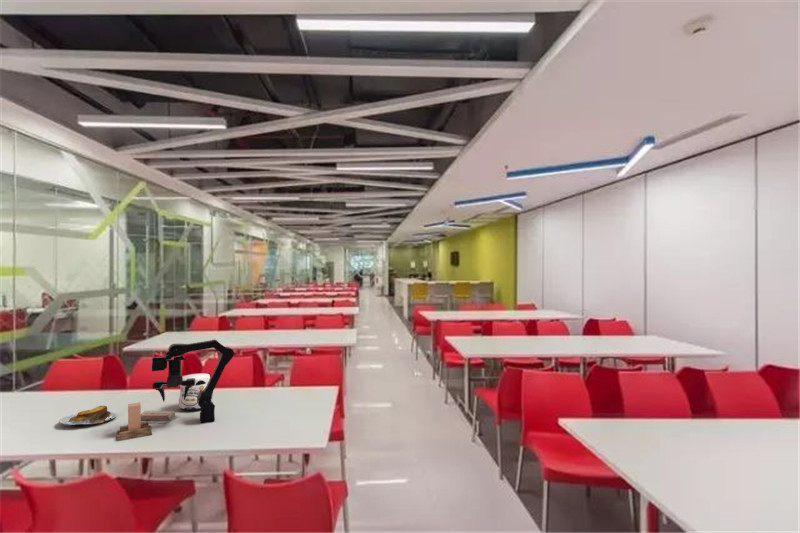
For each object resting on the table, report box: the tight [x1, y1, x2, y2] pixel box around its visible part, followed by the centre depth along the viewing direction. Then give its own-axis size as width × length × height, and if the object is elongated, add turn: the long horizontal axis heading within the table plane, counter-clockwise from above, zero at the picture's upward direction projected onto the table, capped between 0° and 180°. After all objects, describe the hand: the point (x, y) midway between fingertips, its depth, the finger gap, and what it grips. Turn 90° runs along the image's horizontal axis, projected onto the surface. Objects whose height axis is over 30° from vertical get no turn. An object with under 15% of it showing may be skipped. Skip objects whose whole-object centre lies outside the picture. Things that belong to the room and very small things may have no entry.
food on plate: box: [58, 405, 118, 426], centre depth 233 cm, size 25×25×7 cm
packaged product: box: [141, 410, 178, 425], centre depth 233 cm, size 18×5×10 cm
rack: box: [116, 422, 153, 442], centre depth 214 cm, size 14×13×3 cm
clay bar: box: [127, 402, 142, 431], centre depth 214 cm, size 5×5×13 cm
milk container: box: [178, 372, 213, 411], centre depth 254 cm, size 17×17×18 cm
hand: (174, 400), depth 223 cm, fingers open, 9 cm apart
